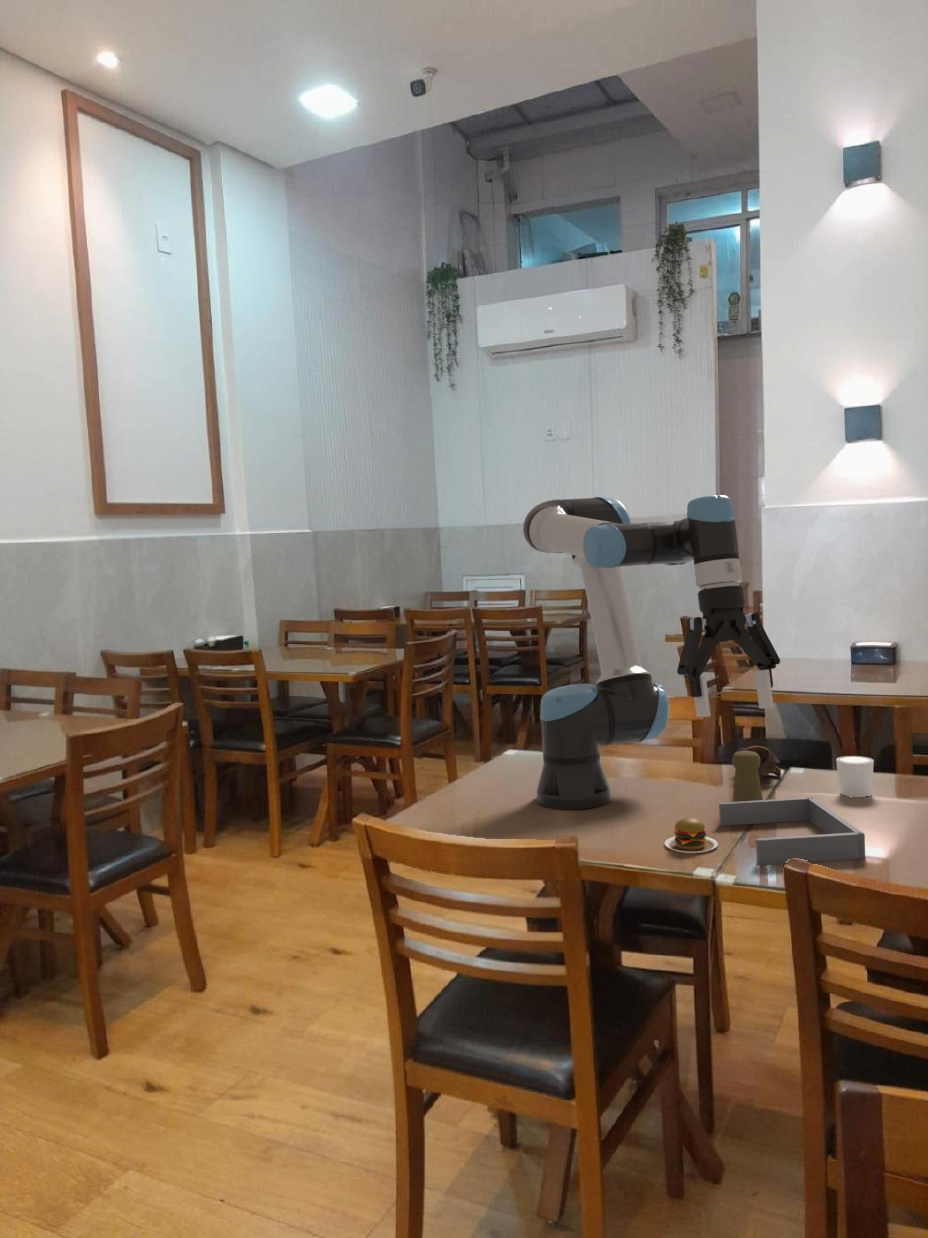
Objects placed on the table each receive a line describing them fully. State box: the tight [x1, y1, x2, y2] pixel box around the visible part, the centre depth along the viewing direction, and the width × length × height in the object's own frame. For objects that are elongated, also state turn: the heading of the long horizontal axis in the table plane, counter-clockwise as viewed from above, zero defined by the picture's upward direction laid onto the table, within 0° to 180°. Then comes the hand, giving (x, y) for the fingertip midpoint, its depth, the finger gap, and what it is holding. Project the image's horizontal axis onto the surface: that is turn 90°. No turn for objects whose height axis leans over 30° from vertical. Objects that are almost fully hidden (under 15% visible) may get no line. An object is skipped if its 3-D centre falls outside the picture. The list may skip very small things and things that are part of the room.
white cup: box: [835, 755, 875, 798], centre depth 183 cm, size 7×7×7 cm
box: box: [718, 796, 866, 866], centre depth 158 cm, size 22×17×4 cm
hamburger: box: [664, 817, 719, 854], centre depth 159 cm, size 12×12×6 cm
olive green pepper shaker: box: [731, 751, 764, 802], centre depth 178 cm, size 6×6×11 cm
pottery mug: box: [736, 745, 782, 779], centre depth 199 cm, size 12×10×8 cm
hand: (735, 712), depth 156 cm, fingers open, 13 cm apart
